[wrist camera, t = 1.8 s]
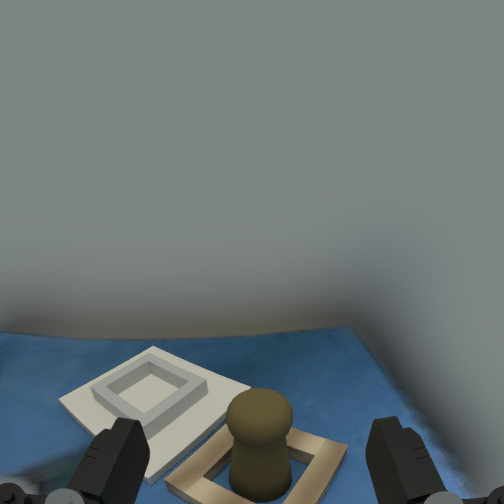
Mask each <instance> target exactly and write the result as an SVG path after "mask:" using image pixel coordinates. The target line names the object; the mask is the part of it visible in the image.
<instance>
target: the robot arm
mask: <svg viewBox="0 0 504 504" xmlns="http://www.w3.org/2000/svg"><path fill="white" fill-rule="evenodd" d="M149 460H150V448H149V445H148V442H147V439H146V436H145V433H144V431H143V428H142V425H141V422H140V421H139V420H135V419H128V418H122V417H118V418H117V419H116V420H115V422H114V424H113V426H112V428H111V429H106V428H105V429H103V430H102V431H101V432H100V433H99V434H97V435H96V436H95V437H94V439H93V441H92V442H91V444H90V446H89V449H87V451H86V453H85V457H83V458H82V460H81V462H80V464H79V466H78V467H77V469H76V471H75V473H74V475H73V476H72V478H71V480H70V482H69V484H68V485H67V487H66V488H65V489H58V490H55V491H53V492H51V493H50V494H49V495H48V496H42V495H32V494H26V493H25V492H24V491H23V490H22V489H21V487H19V486H18V485H16V484H14V483H4V484H1V485H0V504H134V503H135V500H136V497H137V494H138V492H139V489H140V486H141V483H142V480H143V478H144V475H145V472H146V469H147V466H148V464H149ZM366 462H367V466H368V469H369V473H370V476H371V479H372V483H373V486H374V490H375V493H376V497H377V500H378V504H504V486H501V487H498V488H496V489H495V490H493V491H492V492H491V493H490V495H489V496H488V497H483V498H474V499H461V498H460V497H459V496H458V495H456V494H454V493H452V492H448V491H447V490H446V488H445V486H444V484H443V482H442V480H441V478H440V476H439V474H438V471H437V469H436V467H435V465H434V463H433V461H432V459H431V457H430V455H429V453H428V451H427V449H425V445H424V443H423V441H422V439H421V437H420V435H419V434H417V433H416V432H415V431H414V430H413V429H411V428H410V427H409V428H404V429H403V428H402V426H401V424H400V422H399V420H398V418H397V417H396V416H392V417H386V418H380V419H375V420H374V421H373V424H372V428H371V431H370V435H369V439H368V442H367V445H366Z"/></svg>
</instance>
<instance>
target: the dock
mask: <svg viewBox="0 0 504 504" xmlns="http://www.w3.org/2000/svg"><path fill="white" fill-rule="evenodd" d="M250 389H251V387H249V386H247V385H244V384H241V383H239V382H236V381H233V380H231V379H228V378H226V377H223V376H221V375H218V374H216V373H213V372H211V371H209V370H206V369H204V368H201V367H199V366H197V365H194V364H192V363H190V362H187V361H185V360H183V359H181V358H178V357H176V356H174V355H172V354H170V353H167V352H165V351H163V350H161V349H159V348H157V347H155V346H152V347H151V348H149V349H147V350H145V351H144V352H142V353H140V354H138V355H137V356H135V357H133V358H131V359H130V360H128V361H126V362H124V363H123V364H121V365H119V366H117V367H116V368H114V369H112V370H110V371H108V372H107V373H105V374H103V375H101V376H99V377H98V378H96V379H94V380H92V381H90V382H89V383H87V384H85V385H83V386H81V387H80V388H78V389H76V390H74V391H72V392H70V393H69V394H67V395H65V396H63V397H61V398H59V401H60V404H61V406H62V407H63V408H64V409H65V410H66V411H67V412H68V413H69V414H70V415H71V416H72V417H73V418H74V419H75V420H76V421H77V422H78V423H79V424H80V425H81V426H82V427H83V428H84V429H85V430H86V431H87V432H88V433H89V434H90V435H91V436H92V437H93V438H94V437H95V436H96V435H97V434H99V433H100V432H101V431H102V430H103V429H105V428H106V429H111V428H112V426H113V424H114V422H115V420H116V419H117V418H118V417H122V418H128V419H135V420H139V421H140V422H141V425H142V428H143V431H144V433H145V436H146V439H147V442H148V445H149V448H150V460H149V464H148V466H147V469H146V472H145V475H144V478H143V479H144V480H145V481H146V482H148V483H149V484H150V485H151V484H153V483H154V482H155V481H156V480H158V479H159V478H160V477H161V476H162V475H164V474H165V473H166V472H167V471H168V470H170V469H171V468H172V467H173V466H174V465H175V464H177V463H178V462H179V461H180V460H181V459H182V458H184V457H185V456H186V455H187V454H188V453H189V452H190V451H192V450H193V449H194V448H195V447H196V446H197V445H198V444H199V443H201V442H202V441H203V440H204V439H205V438H206V437H207V436H208V435H209V434H210V433H212V432H213V431H214V430H215V429H216V428H217V427H218V426H219V425H220V424H221V423H222V422H223V421H224V420H225V419H226V411H227V407H228V405H229V404H230V402H231V401H232V399H233V398H234V397H235V396H237V395H238V394H239V393H241V392H244V391H246V390H250Z"/></svg>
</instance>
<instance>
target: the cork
mask: <svg viewBox="0 0 504 504" xmlns="http://www.w3.org/2000/svg"><path fill="white" fill-rule="evenodd" d="M292 423H293V411H292V407H291V405H290V403H289V402H288V400H287V399H286V398H285V397H284V396H283V395H281V394H280V393H279V392H276V391H274V390H271V389H265V388H254V389H250V390H246V391H244V392H241V393H239V394H238V395H237V396H235V397H234V398H233V399H232V401H231V402H230V404H229V405H228V407H227V411H226V424H227V427H228V429H229V431H230V433H231V435H232V436H233V437H234V440H233V449H232V458H231V467H230V476H229V483H230V486H231V489H232V490H233V491H234V493H235V494H237V495H239V496H241V497H243V498H245V499H247V500H249V501H251V502H255V503H265V502H269V501H273V500H276V499H278V498H280V497H281V496H283V495H284V494H285V493H286V492H287V491H288V490H289V488H290V485H291V483H292V476H291V468H290V461H289V454H288V447H287V441H286V436H287V434H288V433H289V431H290V429H291V426H292Z"/></svg>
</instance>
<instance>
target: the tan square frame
mask: <svg viewBox="0 0 504 504" xmlns="http://www.w3.org/2000/svg"><path fill="white" fill-rule="evenodd" d="M233 440H234V437H233V436H232V435H231V433H230V431H229V429H228V427H227V424H225V425H224V426H223V427H222V428H221V429H220V430H219V431H217V432H216V433H215V434H214V435H213V436H212V437H211V438H210V439H209V440H208V441H207V442H206V443H205V444H204V445H202V446H201V447H200V448H199V449H198V450H197V451H196V452H195V453H194V454H192V455H191V456H190V457H189V458H188V459H187V460H186V461H185V462H183V463H182V464H181V465H180V466H179V467H178V468H177V469H175V470H174V471H173V472H172V473H171V474H169V475H168V476H167V477H166V478H165V479H164V481H165V483H166V485H167V488H168V490H170V491H171V492H173V493H174V494H176V495H177V496H179V497H180V498H182V499H183V500H185V501H187V502H188V503H190V504H256V503H253V502H251V501H249V500H247V499H245V498H243V497H241V496H239V495H237V494H234V493H232V492H230V491H229V490H227V489H225V488H223V487H221V486H219V485H217V484H215V483H213V482H211V480H212V479H213V478H214V477H215V476H216V475H217V474H218V473H219V472H220V471H221V470H222V469H223V468H224V467H225V466H226V465H227V464H228V463H229V462H230V461H231V458H232V449H233ZM286 441H287V447H288V454H289V458H291V459H294V460H296V461H299V462H302V463H305V464H308V465H309V466H308V467H307V469H306V470H305V472H304V473H303V475H302V476H301V478H300V479H299V481H298V482H297V484H296V485H295V487H294V488H293V490H292V491H291V492H290V494H289V495H288V497H287V498H286V499H285V501H284V502H283V504H319V503H320V501H321V499H322V498H323V496H324V494H325V492H326V491H327V489H328V487H329V486H330V484H331V482H332V480H333V478H334V477H335V475H336V473H337V471H338V469H339V467H340V466H341V464H342V462H343V460H344V458H345V455H346V452H347V448H348V445H345V444H342V443H338V442H335V441H331V440H328V439H325V438H322V437H318V436H315V435H312V434H309V433H306V432H303V431H300V430H297V429H294V428H291V429H290V431H289V433H288V434H287V436H286Z"/></svg>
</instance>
